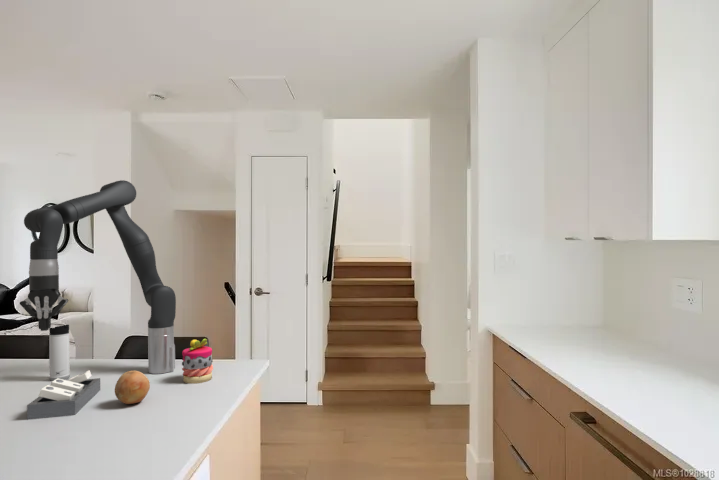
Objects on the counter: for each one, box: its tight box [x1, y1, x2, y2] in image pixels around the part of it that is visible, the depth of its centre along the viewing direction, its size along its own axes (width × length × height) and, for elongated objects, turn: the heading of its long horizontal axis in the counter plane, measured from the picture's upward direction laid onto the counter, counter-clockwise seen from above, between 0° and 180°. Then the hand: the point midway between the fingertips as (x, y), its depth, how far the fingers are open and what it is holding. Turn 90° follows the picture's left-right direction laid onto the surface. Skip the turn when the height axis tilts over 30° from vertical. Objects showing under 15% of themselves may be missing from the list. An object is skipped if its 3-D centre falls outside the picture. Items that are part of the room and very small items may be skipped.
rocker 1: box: [38, 384, 76, 401], centre depth 135 cm, size 8×4×2 cm, turn 104°
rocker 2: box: [65, 369, 93, 383], centre depth 150 cm, size 8×4×2 cm, turn 105°
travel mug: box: [48, 324, 71, 382], centre depth 170 cm, size 6×7×20 cm
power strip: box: [26, 377, 101, 420], centre depth 146 cm, size 12×33×4 cm, turn 14°
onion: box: [114, 370, 151, 405], centre depth 141 cm, size 10×10×10 cm
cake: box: [181, 338, 214, 385], centre depth 166 cm, size 10×11×15 cm
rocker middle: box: [49, 378, 84, 392], centre depth 142 cm, size 8×4×2 cm, turn 104°
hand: (44, 330), depth 141 cm, fingers closed
